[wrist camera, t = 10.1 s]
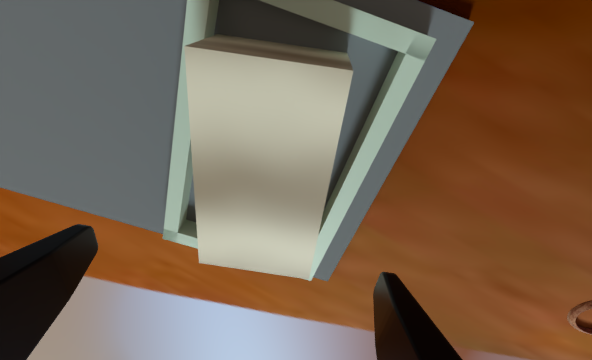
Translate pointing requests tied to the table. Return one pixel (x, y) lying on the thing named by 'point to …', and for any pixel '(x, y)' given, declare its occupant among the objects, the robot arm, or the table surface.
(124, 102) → the mat
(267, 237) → the card box
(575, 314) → the key
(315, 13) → the tray frame
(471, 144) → the table surface
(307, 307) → the table surface
